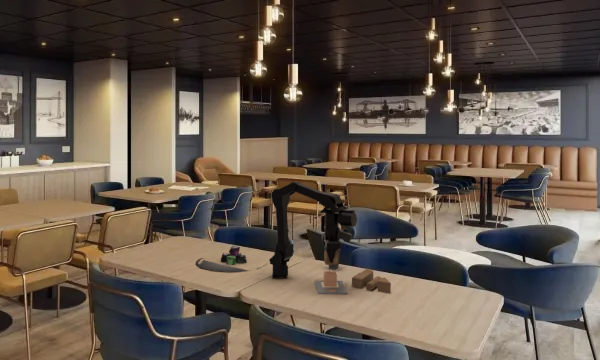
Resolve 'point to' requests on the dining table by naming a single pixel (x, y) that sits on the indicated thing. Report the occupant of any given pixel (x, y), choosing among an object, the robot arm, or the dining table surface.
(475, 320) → the dining table surface
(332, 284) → the terracotta block
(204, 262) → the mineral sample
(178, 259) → the dining table surface
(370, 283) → the wooden block set
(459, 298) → the dining table surface
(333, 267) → the beverage cup
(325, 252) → the walnut block
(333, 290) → the grey flat plate
